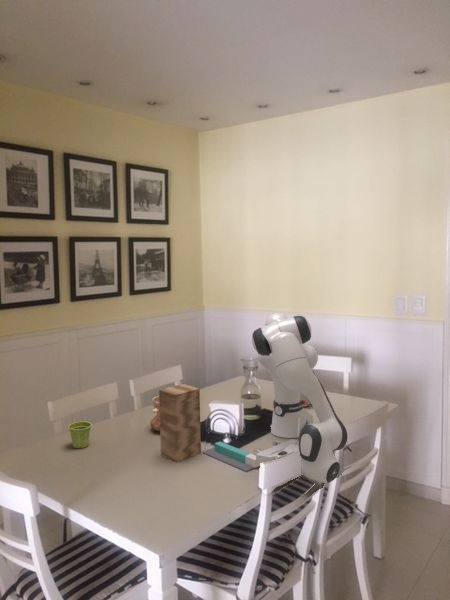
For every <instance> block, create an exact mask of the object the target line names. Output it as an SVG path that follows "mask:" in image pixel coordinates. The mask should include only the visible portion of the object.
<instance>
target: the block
mask: <svg viewBox="0 0 450 600" xmlns="http://www.w3.org/2000/svg"><path fill="white" fill-rule="evenodd" d="M214 447H215V451H216V452H219V453H221V454H223V455H226V456H228V457H230V458H233V459H235V460H238V461H240V462H242V463H245V464H247V465H249V466H252V467H254V468H255V469H257V468H259V467H260V466H259V465H257V463H256V454H253V453H250V452H248V451H244V450H243V449H241V448H239V447H238V448H237V447H235V446H232V445H231V444H229V443H225V442H223V441H218V442H214ZM258 466H259V467H258ZM256 467H257V468H256Z"/></svg>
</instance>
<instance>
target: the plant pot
mask: <svg viewBox="0 0 450 600" xmlns="http://www.w3.org/2000/svg"><path fill="white" fill-rule="evenodd" d="M92 425H93V423H91V421H90V422H89V421H76V422H72V423H70V424H68V427H67V429H68V430H69V432H70V436H71V437H70V438H71V443H72V447H73V448H74V449H81V448H84V449H85V448H86V447H88V446H89V443H90V442H89V441H90V433H91V432H90V431H91V428H92Z"/></svg>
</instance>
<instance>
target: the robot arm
mask: <svg viewBox="0 0 450 600" xmlns="http://www.w3.org/2000/svg"><path fill="white" fill-rule="evenodd" d="M311 326H312V325H310V323H309V321H308V320H307V319H306V317H305V316H303V315H295V316H294V315H293V317H287V315H286V314H284V313H281V312H275V313H272V314H270V315H269V316H268V317H267V318H266V321H265V325H264V326H263V327H258V328H257V329H255V330H254V331H253V333H252V336H251V337H252V338H251V343H252V346H253V349H254V350H255V351H256V352H257V360H258V363H259V365H261V367H262V368H264V369H265V370H266V371H267V372H268V373H269V375H270V377H271V379H272V382H273V388H274V389H273V390H274V392H273V393H274V400H273V404H272V405H273V411H272V416H271V417H272V419H271V424H270V426H269V428H270V427H271V428H270V433H271V434H272V435H273V436H275V437H279V438H285V439H288V440H286V441H278V440H274V441H272V442H271V447H269V448H266V449H263V450H261V448H259V447H256V448H254V450H253V453H254V455H256V463H257V465H259V467H261V466H260V463H262V462H267V461H272V460H276V459H280V458H282V457H285V456H287V455H290V454H292V453H294V452H296V451H299V452H300V456H301V458H302V459H301V473H302V474H301V475H303V476H304V477H306V478H307V479H309V480H312V481H316V482H318V483H323V484H329V483H331V482H333V481H335V480H336V478H337V477H338V475H339V473H340V470H341V469H340V468H341V465H340V464H341V463H340V462H339V461H338V459H337V458H336V456H335V455H334V452H336V451H340V450H343V448H344V447H345V446H346V445H347V443H348V442H347V441H348V431H347V428H346V427H345V424H344V423H343V422H342V421H341V419H340V418H339V417H338V415H337V413H336V411H335V410H334V408H333V405H332V403H331V401H330V398H329V397H328V394H327V392H326V390H325V388H324V386H323V384H322V383H321V381H320V380H319V379H318V377H317V375H316V376H315V375H314V373H313V372H312V370H313V369H314V368H315V367H316V366H317V364H318V360H319V355H318V352H317V350H316V349H315V347H314V346H311V345H309V344H306V343H307V342H310V340H311V338H312V327H311ZM300 393H301V394H303V395H305V396H306V397H307V398H308V399H309V400H310V402H311V404H310V405H311V406H312V408H313V410H314V413H315V414H316V417H317V419H318V422H314V417H313V415H312V413H311V412H309V411H308V410H307V409H305V407H303V405H302V404H304V405H306V400H303V399H302V400H300ZM296 438H297V439H296Z"/></svg>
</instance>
